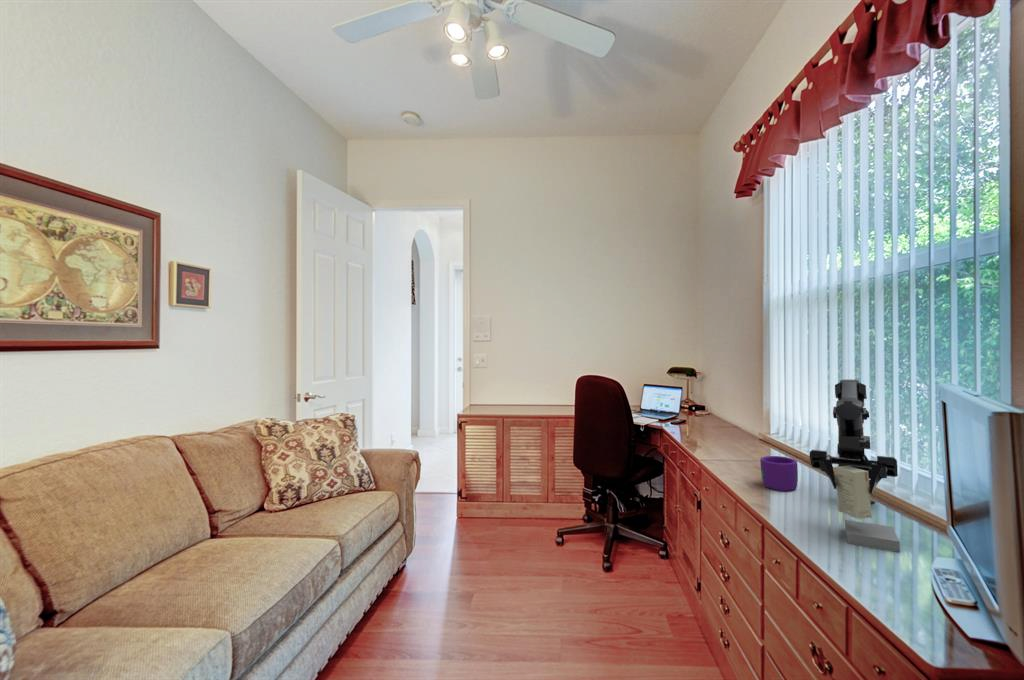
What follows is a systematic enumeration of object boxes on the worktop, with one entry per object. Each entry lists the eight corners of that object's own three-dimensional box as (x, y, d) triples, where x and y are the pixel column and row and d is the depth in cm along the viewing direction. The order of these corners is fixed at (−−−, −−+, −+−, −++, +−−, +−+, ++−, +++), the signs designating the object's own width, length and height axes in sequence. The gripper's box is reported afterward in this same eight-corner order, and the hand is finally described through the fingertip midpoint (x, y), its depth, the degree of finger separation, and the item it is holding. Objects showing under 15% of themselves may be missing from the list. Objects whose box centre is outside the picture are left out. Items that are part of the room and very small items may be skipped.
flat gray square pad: (845, 530, 118) (844, 519, 118) (893, 538, 113) (892, 526, 113) (848, 545, 110) (847, 533, 110) (900, 553, 105) (899, 541, 105)
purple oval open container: (800, 494, 146) (799, 464, 147) (762, 490, 152) (760, 462, 152) (795, 479, 162) (793, 453, 162) (760, 476, 167) (758, 451, 167)
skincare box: (872, 518, 111) (870, 471, 111) (857, 520, 111) (855, 472, 111) (850, 509, 118) (848, 464, 118) (836, 510, 117) (833, 465, 117)
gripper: (807, 421, 124) (806, 469, 115) (894, 426, 112) (899, 480, 103) (812, 443, 129) (811, 490, 121) (895, 450, 117) (900, 503, 109)
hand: (852, 490), depth 113 cm, fingers closed on skincare box, 7 cm apart
